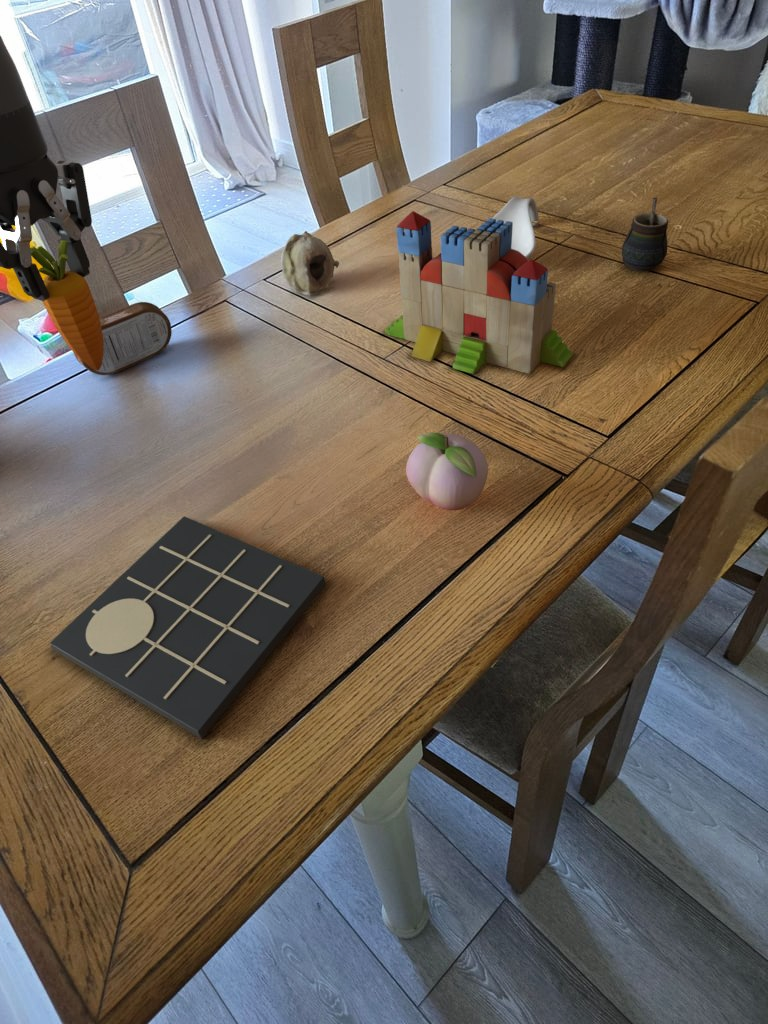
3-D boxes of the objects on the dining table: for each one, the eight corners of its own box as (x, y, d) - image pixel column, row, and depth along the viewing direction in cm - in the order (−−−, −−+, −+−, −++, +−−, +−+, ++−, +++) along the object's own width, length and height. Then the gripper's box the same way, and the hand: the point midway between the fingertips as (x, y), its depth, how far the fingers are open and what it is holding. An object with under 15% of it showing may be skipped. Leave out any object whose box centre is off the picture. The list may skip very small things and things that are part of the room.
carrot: (117, 353, 82) (67, 227, 72) (122, 374, 79) (70, 245, 68) (74, 365, 81) (17, 238, 70) (77, 386, 78) (18, 257, 67)
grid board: (55, 651, 71) (48, 642, 69) (187, 524, 82) (183, 515, 81) (202, 739, 62) (197, 731, 61) (326, 585, 74) (324, 575, 73)
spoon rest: (524, 285, 117) (527, 243, 112) (457, 277, 121) (457, 237, 115) (555, 227, 132) (559, 188, 127) (495, 221, 136) (496, 183, 130)
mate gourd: (620, 276, 117) (630, 216, 110) (617, 255, 122) (627, 197, 115) (665, 276, 115) (678, 216, 108) (661, 256, 120) (673, 196, 113)
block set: (581, 345, 103) (600, 214, 89) (541, 395, 95) (555, 259, 81) (419, 304, 115) (414, 183, 101) (371, 345, 107) (359, 220, 94)
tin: (171, 340, 113) (155, 291, 107) (180, 347, 111) (165, 298, 105) (84, 378, 107) (62, 329, 101) (92, 386, 105) (70, 337, 99)
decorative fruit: (502, 500, 81) (507, 432, 74) (459, 541, 77) (460, 474, 70) (439, 468, 86) (438, 402, 79) (396, 505, 82) (390, 438, 75)
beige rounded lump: (291, 306, 123) (261, 258, 116) (308, 276, 127) (280, 228, 120) (334, 297, 118) (306, 246, 111) (351, 266, 122) (324, 216, 116)
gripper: (20, 79, 66) (87, 252, 78) (-118, 126, 58) (-19, 311, 70) (74, 84, 63) (136, 262, 75) (-63, 134, 55) (31, 326, 67)
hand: (61, 285), depth 73 cm, fingers closed on carrot, 5 cm apart
